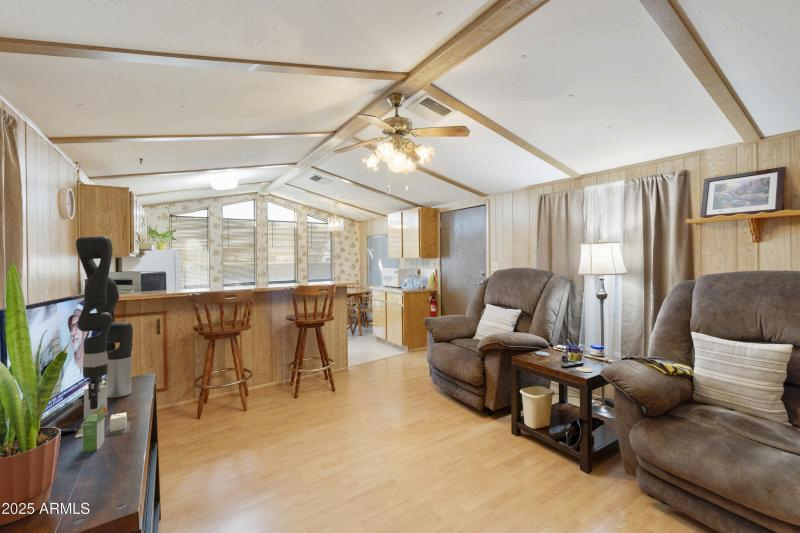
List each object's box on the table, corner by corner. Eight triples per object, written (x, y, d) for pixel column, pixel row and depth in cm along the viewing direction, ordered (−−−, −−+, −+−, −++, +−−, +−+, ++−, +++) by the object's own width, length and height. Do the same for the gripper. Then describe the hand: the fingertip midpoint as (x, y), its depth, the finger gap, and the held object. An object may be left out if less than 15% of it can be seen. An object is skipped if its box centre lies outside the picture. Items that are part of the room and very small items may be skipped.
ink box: (90, 443, 124) (90, 404, 124) (104, 441, 126) (104, 402, 126) (82, 453, 118) (81, 411, 118) (97, 451, 120) (97, 409, 119)
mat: (108, 426, 137) (108, 425, 137) (131, 422, 141) (131, 421, 141) (104, 437, 129) (104, 436, 129) (129, 432, 133) (129, 431, 133)
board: (82, 423, 140) (82, 421, 140) (105, 419, 143) (105, 417, 143) (74, 439, 127) (74, 437, 127) (100, 434, 131) (100, 432, 131)
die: (111, 426, 136) (111, 414, 136) (126, 424, 139) (126, 412, 139) (110, 431, 132) (110, 419, 132) (125, 428, 135) (125, 416, 135)
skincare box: (92, 421, 141) (92, 390, 141) (83, 420, 142) (83, 389, 142) (107, 415, 147) (107, 385, 147) (99, 414, 148) (99, 384, 148)
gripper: (86, 360, 149) (86, 401, 149) (79, 369, 136) (79, 414, 137) (109, 358, 153) (109, 398, 153) (105, 366, 141) (105, 409, 141)
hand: (95, 405), depth 145 cm, fingers closed on skincare box, 7 cm apart
